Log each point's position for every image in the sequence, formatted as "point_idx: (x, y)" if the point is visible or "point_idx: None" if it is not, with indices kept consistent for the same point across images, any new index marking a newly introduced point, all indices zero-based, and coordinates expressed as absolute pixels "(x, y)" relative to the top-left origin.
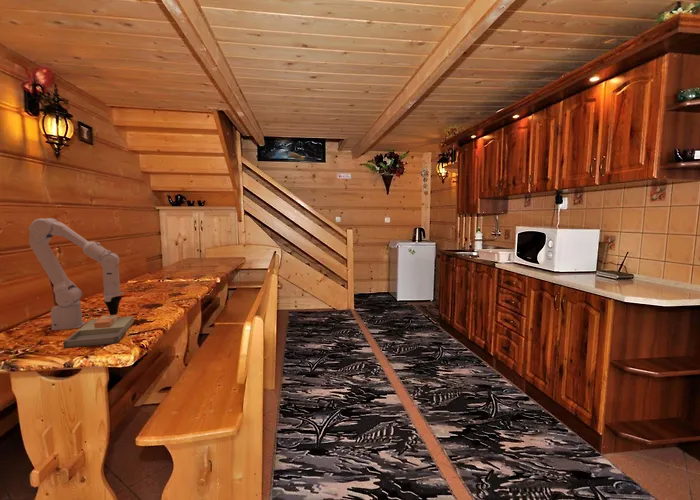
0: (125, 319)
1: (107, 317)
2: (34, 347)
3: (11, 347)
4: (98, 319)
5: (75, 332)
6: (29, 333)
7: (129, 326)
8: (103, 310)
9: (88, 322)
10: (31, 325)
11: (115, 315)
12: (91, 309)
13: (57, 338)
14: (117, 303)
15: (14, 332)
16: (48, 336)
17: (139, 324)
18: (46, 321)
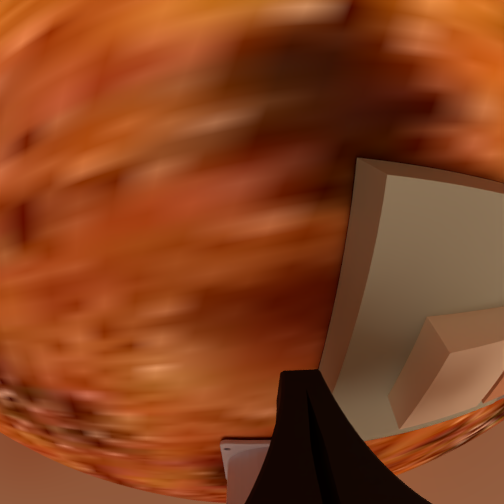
0: (475, 242)
1: (483, 380)
2: (472, 425)
3: (429, 459)
4: (484, 402)
5: (498, 398)
6: None
7: (493, 181)
8: (5, 386)
9: (382, 435)
10: (210, 497)
11: (472, 353)
12: (11, 412)
13: (431, 428)
14: (406, 486)
15: None
16: (383, 455)
17: (439, 97)
18: (168, 486)
